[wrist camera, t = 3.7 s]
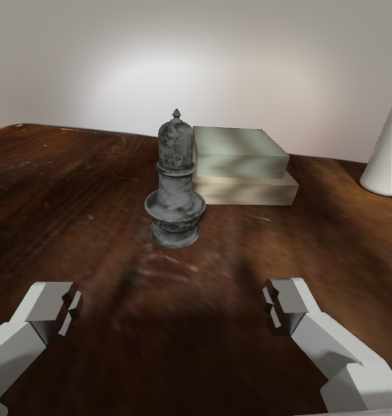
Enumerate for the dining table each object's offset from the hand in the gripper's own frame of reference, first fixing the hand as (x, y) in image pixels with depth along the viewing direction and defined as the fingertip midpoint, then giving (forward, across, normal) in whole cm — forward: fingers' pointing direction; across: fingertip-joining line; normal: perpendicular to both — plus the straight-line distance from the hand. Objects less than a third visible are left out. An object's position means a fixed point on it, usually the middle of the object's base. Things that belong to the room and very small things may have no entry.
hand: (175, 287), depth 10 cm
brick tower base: (+24, -8, +7) cm, 26 cm away
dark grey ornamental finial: (+12, 0, +7) cm, 14 cm away
